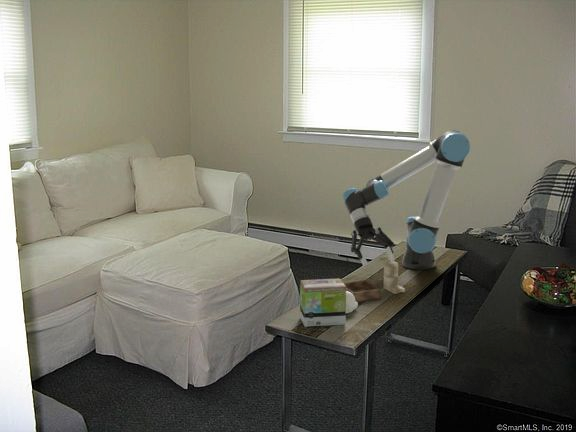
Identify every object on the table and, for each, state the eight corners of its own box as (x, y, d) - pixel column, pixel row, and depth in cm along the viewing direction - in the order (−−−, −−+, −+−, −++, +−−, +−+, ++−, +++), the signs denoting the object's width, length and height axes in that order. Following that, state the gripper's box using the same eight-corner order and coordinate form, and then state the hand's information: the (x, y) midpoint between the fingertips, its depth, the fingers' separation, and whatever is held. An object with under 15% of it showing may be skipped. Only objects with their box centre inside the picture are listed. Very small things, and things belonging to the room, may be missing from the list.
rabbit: (330, 316, 242) (331, 285, 240) (322, 308, 251) (322, 278, 248) (361, 312, 246) (361, 282, 243) (351, 304, 254) (351, 274, 252)
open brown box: (365, 289, 272) (365, 280, 271) (380, 298, 260) (380, 289, 260) (338, 292, 268) (338, 283, 267) (353, 302, 256) (353, 293, 255)
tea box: (304, 328, 231) (304, 288, 228) (299, 318, 241) (299, 279, 238) (346, 325, 234) (346, 285, 230) (339, 315, 243) (339, 277, 240)
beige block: (393, 286, 275) (394, 261, 273) (404, 291, 268) (405, 266, 266) (383, 288, 273) (384, 262, 271) (394, 293, 266) (395, 267, 264)
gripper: (382, 222, 294) (400, 263, 284) (333, 228, 283) (350, 271, 273) (389, 213, 288) (408, 255, 278) (339, 218, 277) (357, 262, 268)
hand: (379, 263), depth 276 cm, fingers open, 13 cm apart
